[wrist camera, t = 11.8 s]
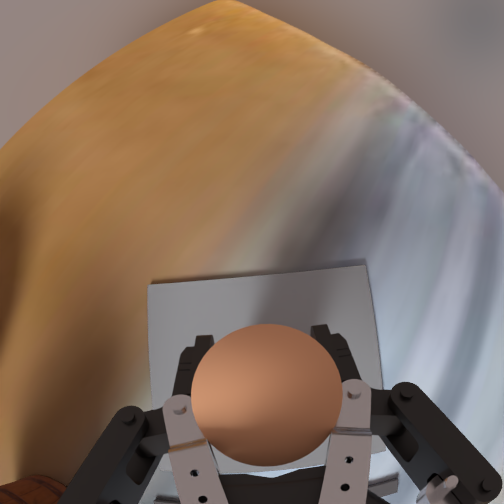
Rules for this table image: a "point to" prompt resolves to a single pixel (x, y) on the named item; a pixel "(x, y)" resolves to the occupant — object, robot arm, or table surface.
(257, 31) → the table surface
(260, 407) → the throwing cylinder
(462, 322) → the table surface
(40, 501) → the wooden figurine
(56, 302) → the table surface
